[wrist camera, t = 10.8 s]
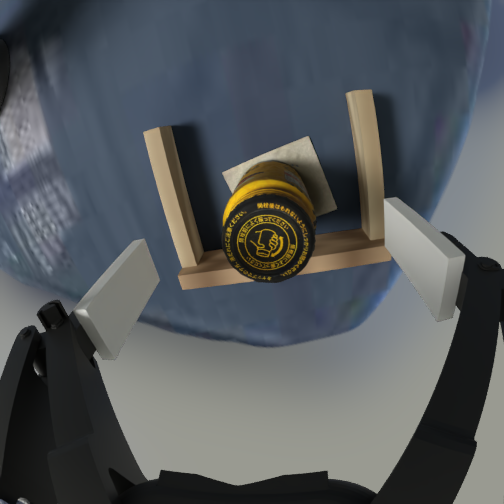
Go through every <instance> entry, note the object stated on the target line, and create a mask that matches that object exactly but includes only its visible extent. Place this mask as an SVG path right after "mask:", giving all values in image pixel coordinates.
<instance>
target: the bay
mask: <svg viewBox="0 0 504 504" xmlns="http://www.w3.org/2000/svg"><path fill="white" fill-rule="evenodd" d="M346 99H347V104H348V110H349V116H350V122H351V128H352V135H353V142H354V149H355V157H356V165H357V174H358V184H359V195H360V207H361V221H362V228H359V229H353V230H346V231H339V232H332V233H325V234H319V235H315V238H316V239H315V240H316V242H315V250H314V251H313V254H312V257H311V258H310V259H309V262H308V264H307V265H306V267H305V268H304V269H303V270H302V271H301V272H299V273H298V274H297V275H301V274H307V273H314V272H321V271H328V270H334V269H341V268H347V267H353V266H360V265H366V264H372V263H378V262H384V261H390V260H391V254H390V253H389V251H388V250H387V249H386V247H385V223H384V183H383V170H382V160H381V150H380V141H379V133H378V126H377V119H376V113H375V106H374V101H373V95H372V90H354V91H351V92H348V93H346ZM143 133H144V137H145V141H146V145H147V149H148V153H149V157H150V161H151V165H152V169H153V172H154V176H155V180H156V183H157V187H158V191H159V194H160V198H161V201H162V205H163V208H164V211H165V215H166V218H167V221H168V225H169V228H170V231H171V234H172V238H173V241H174V244H175V247H176V250H177V253H178V256H179V259H180V262H181V265H182V269H181V271H180V273H179V275H178V278H179V281H180V284H181V286H182V289H183V290H185V289H194V288H202V287H210V286H219V285H227V284H235V283H242V282H250V281H254V280H252V279H249V278H247V277H245V276H243V275H241V274H240V273H239V272H238V271H237V270H236V269H234V268H233V267H232V266H231V265H230V263H229V262H228V260H227V257H226V256H225V253H224V252H223V249H220V250H213V251H207V252H204V250H203V247H202V243H201V240H200V236H199V233H198V229H197V226H196V222H195V218H194V215H193V211H192V207H191V204H190V200H189V196H188V192H187V189H186V185H185V181H184V177H183V173H182V169H181V165H180V161H179V157H178V153H177V149H176V145H175V141H174V137H173V133H172V128H171V126H164V127H158V128H154V129H151V130H148V131H145V132H143Z"/></svg>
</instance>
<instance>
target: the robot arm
mask: <svg viewBox="0 0 504 504" xmlns="http://www.w3.org/2000/svg"><path fill="white" fill-rule="evenodd" d="M9 64H10V62H9V52H8V48H7V45H6V43H5V42H4V41H3V40H2V39H0V108H1V106H2V103H3V100H4V96H5V93H6V88H7V83H8V77H9ZM384 223H385V247H386V249H387V250H388V251H389V253H390V254H391V255H392V257H393V258H394V259H395V261H396V262H397V263H398V265H399V266H400V268H401V269H402V270H403V272H404V273H405V275H406V276H407V277H408V279H409V280H410V282H411V283H412V285H413V286H414V288H415V289H416V291H417V292H418V294H419V295H420V297H421V298H422V300H423V301H424V303H425V304H426V306H427V307H428V309H429V310H430V312H431V314H432V315H433V317H434V318H435V320H436V321H437V322H439V321H443V320H447V319H450V318H453V314H454V311H455V306H457V307H458V309H459V310H460V311H461V312H460V316H459V320H458V323H457V327H456V330H455V333H454V337H453V340H452V343H451V346H450V349H449V352H448V355H447V358H446V361H445V364H444V367H443V369H442V372H441V375H440V377H439V380H438V382H437V385H436V387H435V390H434V392H433V394H432V397H431V399H430V401H429V404H428V406H427V408H426V410H425V412H424V414H423V417H422V419H421V421H420V423H419V425H418V427H417V429H416V431H415V433H414V434H413V436H412V438H411V440H410V442H409V444H408V446H407V447H406V449H405V451H404V453H403V455H402V456H401V458H400V460H399V461H398V463H397V465H396V466H395V468H394V469H393V471H392V473H391V474H390V476H389V478H388V479H387V480H386V482H385V483H384V485H383V486H382V488H381V490H380V491H379V492H378V494H376V493H375V492H373V491H371V490H369V489H368V488H366V487H363V486H361V485H358V484H355V483H351V482H348V481H342V480H336V479H328V472H327V471H321V472H313V473H304V474H292V475H282V476H279V477H275V478H271V479H267V480H263V481H259V482H255V483H251V484H245V485H239V486H237V485H231V484H227V483H224V482H221V481H217V480H213V479H211V478H207V477H204V476H201V475H198V474H190V473H181V472H172V471H165V470H161V471H160V475H159V479H154V480H149V481H148V480H147V479H146V478H145V476H144V475H143V473H142V472H141V470H140V468H139V466H138V464H137V462H136V460H135V458H134V456H133V454H132V452H131V450H130V448H129V445H128V443H127V441H126V439H125V437H124V435H123V432H122V430H121V427H120V425H119V422H118V420H117V418H116V415H115V413H114V410H113V407H112V405H111V402H110V399H109V397H108V394H107V391H106V388H105V385H104V383H103V380H102V377H101V373H100V370H99V367H98V364H97V361H96V360H95V358H94V357H93V354H94V352H95V351H96V350H97V352H98V353H99V355H100V356H101V358H102V359H103V360H116V358H117V356H118V354H119V352H120V350H121V348H122V347H123V345H124V343H125V341H126V339H127V337H128V335H129V334H130V332H131V330H132V328H133V326H134V325H135V323H136V321H137V319H138V317H139V316H140V314H141V312H142V310H143V308H144V307H145V305H146V303H147V301H148V300H149V298H150V296H151V294H152V293H153V291H154V289H155V288H156V286H157V284H158V283H159V281H160V279H159V276H158V274H157V271H156V269H155V266H154V263H153V261H152V258H151V255H150V253H149V250H148V247H147V244H146V242H145V239H140V240H135V241H133V242H132V243H131V244H130V245H129V246H128V247H127V248H126V249H125V250H124V251H123V252H122V253H121V255H120V256H119V257H118V258H117V259H116V260H115V261H114V262H113V263H112V265H111V266H110V267H109V268H108V269H107V270H106V271H105V272H104V274H103V275H102V276H101V277H100V278H99V279H98V280H97V282H96V283H95V284H94V285H93V286H92V287H91V289H90V290H89V291H88V292H87V293H86V295H85V296H84V297H83V298H82V299H81V301H80V302H79V303H78V304H77V306H76V307H75V308H74V309H73V311H72V312H71V314H70V315H69V316H68V315H67V313H66V311H65V309H64V308H63V306H62V304H61V302H60V301H59V300H54V301H51V302H48V303H47V304H45V305H44V306H43V307H42V308H41V309H40V310H39V311H38V313H37V316H38V318H39V319H40V321H41V323H42V325H43V326H44V328H45V329H46V332H43V333H39V332H38V330H37V329H36V327H35V326H32V325H31V326H28V327H25V328H24V329H22V330H21V331H20V333H19V334H18V335H17V337H16V339H15V342H14V344H13V346H12V349H11V351H10V354H9V357H8V359H7V362H6V365H5V368H4V371H3V373H2V376H1V379H0V504H453V502H454V500H455V498H456V496H457V494H458V492H459V490H460V488H461V485H462V483H463V481H464V479H465V476H466V474H467V472H468V469H469V467H470V465H471V462H472V459H473V457H474V454H475V451H476V447H477V442H476V441H475V440H474V436H475V433H476V430H477V427H478V424H479V421H480V418H481V414H482V411H483V407H484V403H485V400H486V396H487V392H488V387H489V383H490V378H491V373H492V368H493V363H494V357H495V351H496V345H497V337H498V329H499V322H500V323H501V328H502V334H503V340H504V269H502V268H501V266H500V264H499V263H498V262H497V261H495V260H493V259H490V258H488V257H476V256H475V255H474V254H473V253H472V252H471V251H469V250H468V249H467V248H466V247H465V246H463V245H462V244H461V243H460V242H458V240H457V239H456V238H454V237H453V236H452V235H450V234H448V233H446V232H439V231H438V230H437V229H436V228H435V227H433V226H432V225H431V224H430V223H429V222H427V221H426V220H425V219H424V218H422V217H421V216H420V215H419V214H418V213H416V212H415V211H414V210H413V209H411V208H410V207H409V206H407V205H406V204H405V203H404V202H402V201H401V200H400V199H398V198H397V197H394V198H386V199H384ZM34 367H35V369H36V370H37V371H38V373H39V375H37V373H36V372H35V370H34Z"/></svg>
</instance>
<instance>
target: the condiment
mask: <svg viewBox="0 0 504 504" xmlns="http://www.w3.org/2000/svg"><path fill="white" fill-rule="evenodd" d="M291 164H293V165H294V166H292V165H291ZM296 165H298V166H299V167H296ZM222 174H223V176H224V178H225V180H226V182H227V184H228V186H229V188H230V190H231V192H232V196H231V197H230V199H229V201H228V203H227V205H226V208H225V212H224V215H223V231H222V236H221V239H222V248H223V252H224V253H225V256H226V257H227V260H228V262H229V263H230V265H231V266H232V267H233V268H234V269H236V270H237V271H238V272H239V273H240V274H241V275H243V276H245V277H247V278H249V279H252V280H254V281H256V282H265V283H277V282H282V281H284V280H287V279H289V278H292V277H294V276H295V275H297V274H298V273H299V272H301V271H302V270H303V269H304V268H305V267H306V265H307V264H308V262H309V259H310V258H311V257H312V254H313V251H314V250H315V242H316V240H315V239H316V238H315V231H316V222H317V221H316V217H317V216H320V215H323V214H325V213H329V212H331V211H333V210H336V209H337V206H336V204H335V201H334V199H333V196H332V193H331V191H330V188H329V185H328V183H327V180H326V178H325V175H324V173H323V170H322V168H321V165H320V163H319V160H318V158H317V155H316V153H315V150H314V148H313V146H312V143H311V141H310V139H309V136H307V137H305V138H302V139H300V140H297V141H294V142H292V143H290V144H287V145H285V146H282V147H280V148H277V149H275V150H272V151H270V152H268V153H265V154H263V155H260V156H258V157H256V158H254V159H251V160H249V161H247V162H245V163H242V164H240V165H238V166H236V167H233V168H231V169H229V170H227V171H225V172H223V173H222Z"/></svg>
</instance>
